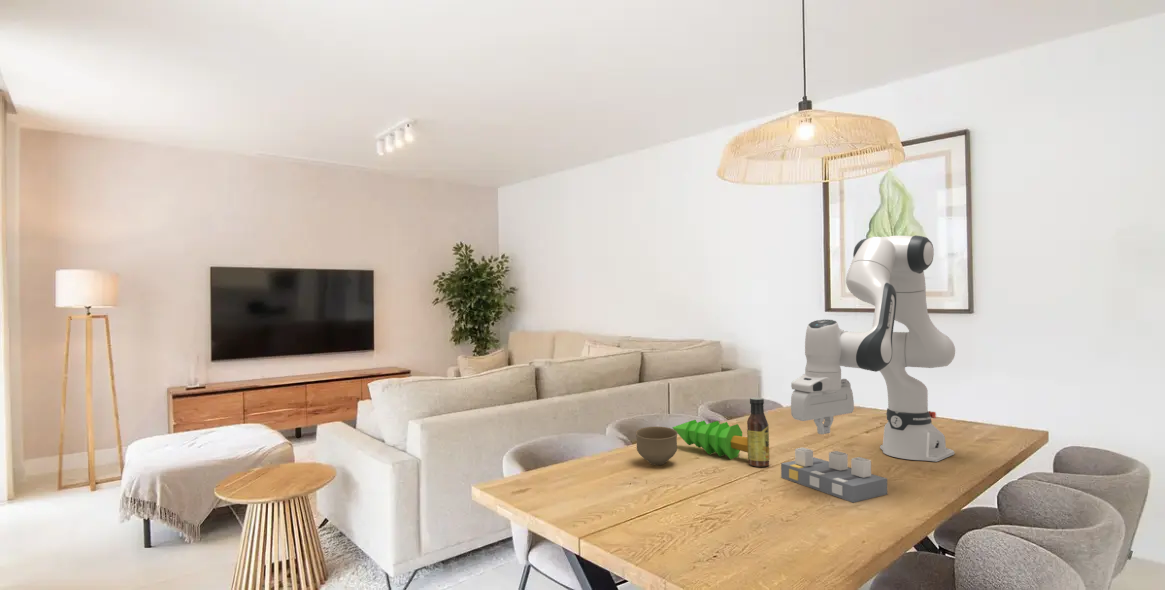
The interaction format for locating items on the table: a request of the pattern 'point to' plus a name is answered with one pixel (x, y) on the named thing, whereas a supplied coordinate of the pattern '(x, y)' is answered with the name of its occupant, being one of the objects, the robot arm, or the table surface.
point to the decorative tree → (714, 437)
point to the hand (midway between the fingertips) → (823, 433)
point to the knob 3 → (861, 467)
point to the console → (834, 480)
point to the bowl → (656, 444)
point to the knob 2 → (838, 460)
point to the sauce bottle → (758, 434)
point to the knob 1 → (804, 457)
